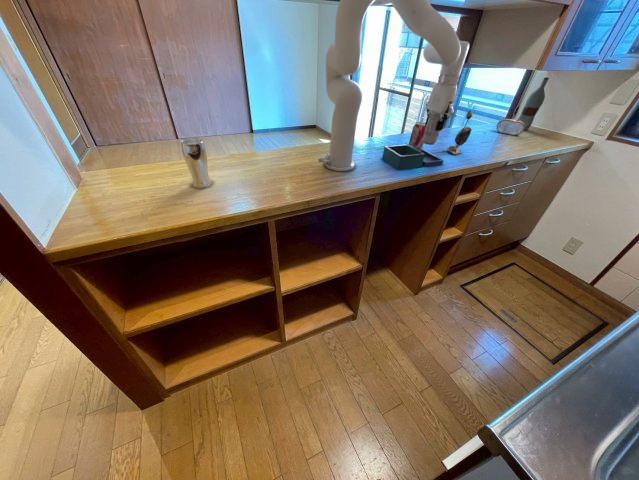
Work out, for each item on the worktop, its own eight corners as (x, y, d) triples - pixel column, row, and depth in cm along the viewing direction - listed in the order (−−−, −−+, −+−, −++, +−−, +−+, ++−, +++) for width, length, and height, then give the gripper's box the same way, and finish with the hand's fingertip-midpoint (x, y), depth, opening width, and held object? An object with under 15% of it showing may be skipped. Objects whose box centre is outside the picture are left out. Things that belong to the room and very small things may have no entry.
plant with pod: (468, 153, 134) (486, 110, 121) (452, 155, 130) (468, 111, 117) (456, 147, 139) (471, 106, 127) (440, 149, 135) (454, 107, 123)
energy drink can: (437, 145, 116) (449, 108, 107) (424, 144, 116) (435, 107, 106) (432, 141, 121) (444, 105, 111) (420, 140, 120) (430, 104, 111)
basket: (397, 170, 112) (401, 156, 108) (381, 158, 121) (384, 146, 118) (421, 167, 116) (425, 154, 112) (404, 156, 125) (407, 144, 122)
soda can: (422, 151, 132) (430, 126, 125) (408, 149, 133) (414, 124, 126) (421, 146, 138) (428, 122, 130) (407, 145, 138) (413, 121, 131)
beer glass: (188, 183, 93) (176, 140, 83) (207, 178, 97) (197, 136, 87) (197, 190, 89) (185, 146, 80) (216, 184, 93) (207, 141, 83)
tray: (424, 166, 116) (426, 162, 115) (405, 155, 126) (406, 151, 125) (442, 164, 119) (443, 160, 118) (422, 153, 130) (423, 149, 128)
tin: (520, 135, 165) (527, 121, 160) (520, 137, 163) (527, 122, 158) (494, 131, 171) (500, 117, 166) (493, 132, 169) (500, 118, 163)
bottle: (515, 126, 184) (539, 76, 165) (529, 129, 179) (556, 78, 161) (511, 128, 178) (536, 76, 160) (526, 131, 174) (554, 79, 155)
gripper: (425, 76, 108) (413, 123, 119) (456, 83, 96) (440, 134, 107) (440, 77, 110) (426, 122, 122) (472, 83, 98) (454, 133, 109)
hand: (433, 127), depth 114 cm, fingers closed on energy drink can, 6 cm apart
